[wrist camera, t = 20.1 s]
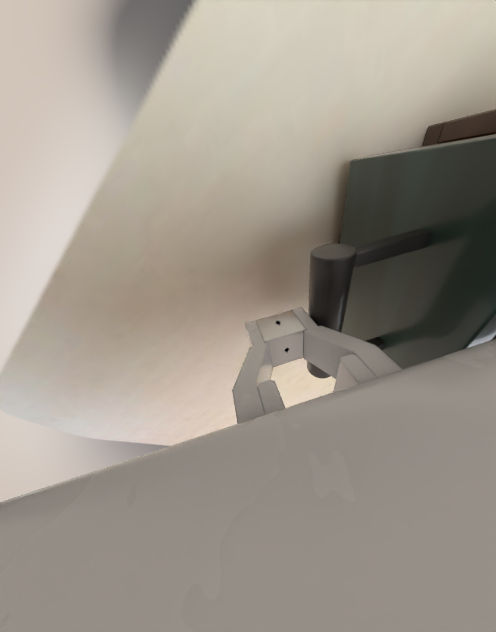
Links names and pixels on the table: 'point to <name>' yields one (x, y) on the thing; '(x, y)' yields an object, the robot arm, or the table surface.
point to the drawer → (413, 253)
